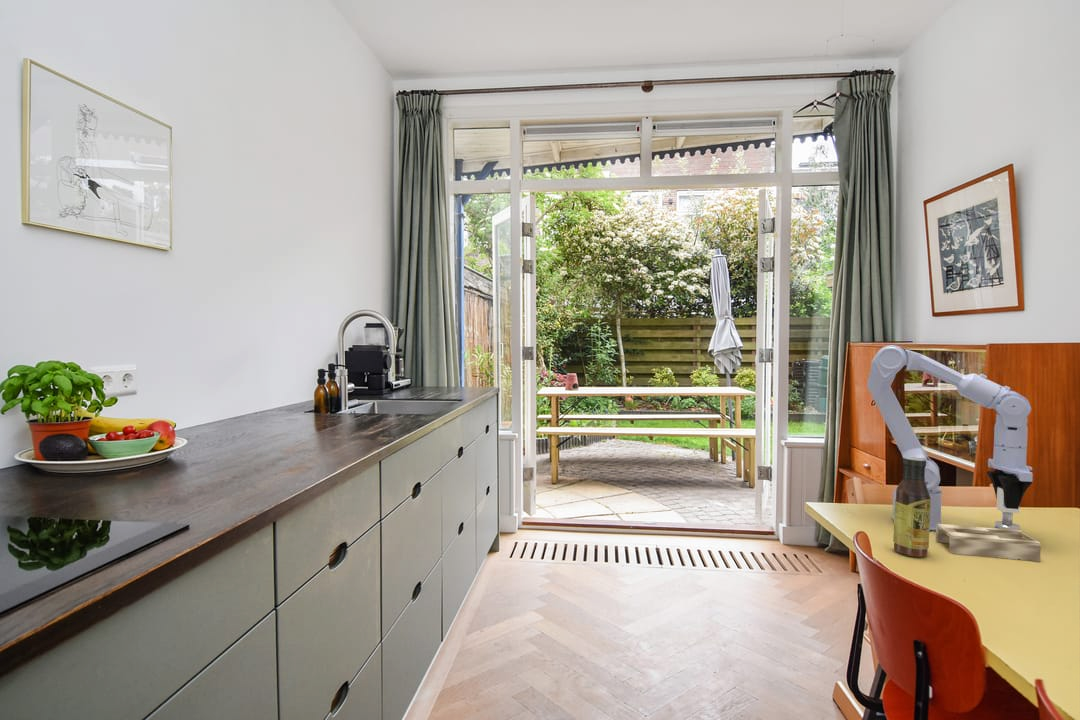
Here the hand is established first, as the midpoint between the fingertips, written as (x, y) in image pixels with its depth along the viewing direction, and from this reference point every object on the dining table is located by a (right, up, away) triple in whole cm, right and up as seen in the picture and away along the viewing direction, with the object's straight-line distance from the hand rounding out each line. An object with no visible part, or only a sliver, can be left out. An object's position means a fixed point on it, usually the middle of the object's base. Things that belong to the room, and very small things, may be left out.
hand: (1007, 506), depth 128 cm
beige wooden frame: (-10, -8, -7) cm, 15 cm away
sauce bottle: (-27, -8, -9) cm, 30 cm away
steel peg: (0, -5, 0) cm, 5 cm away
